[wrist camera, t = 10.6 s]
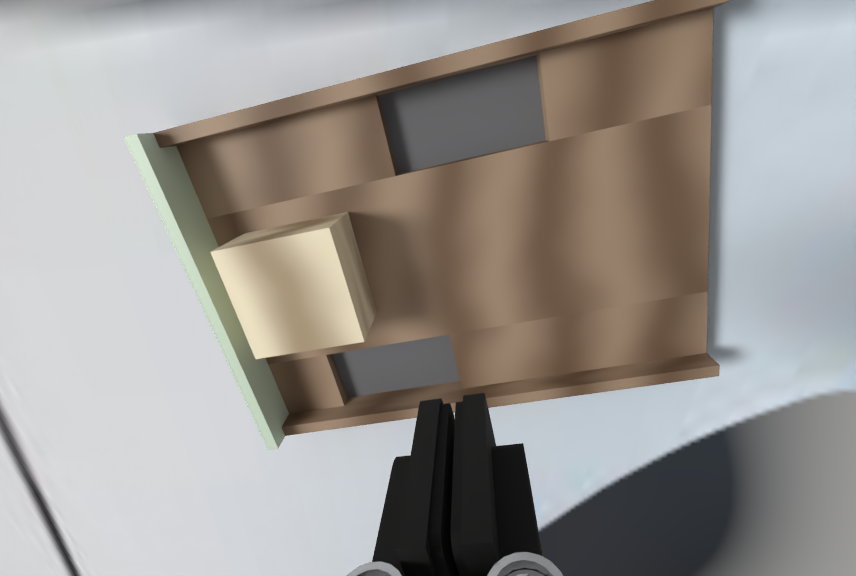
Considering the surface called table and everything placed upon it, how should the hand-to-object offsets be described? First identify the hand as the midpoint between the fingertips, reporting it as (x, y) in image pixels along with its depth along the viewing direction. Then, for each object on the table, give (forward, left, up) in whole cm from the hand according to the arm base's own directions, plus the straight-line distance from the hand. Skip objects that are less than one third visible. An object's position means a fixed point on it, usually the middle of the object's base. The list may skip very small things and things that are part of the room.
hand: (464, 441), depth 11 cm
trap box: (+1, 0, -18) cm, 18 cm away
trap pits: (+1, 0, -18) cm, 18 cm away
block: (+10, 0, -17) cm, 19 cm away
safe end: (+16, 0, -18) cm, 24 cm away
